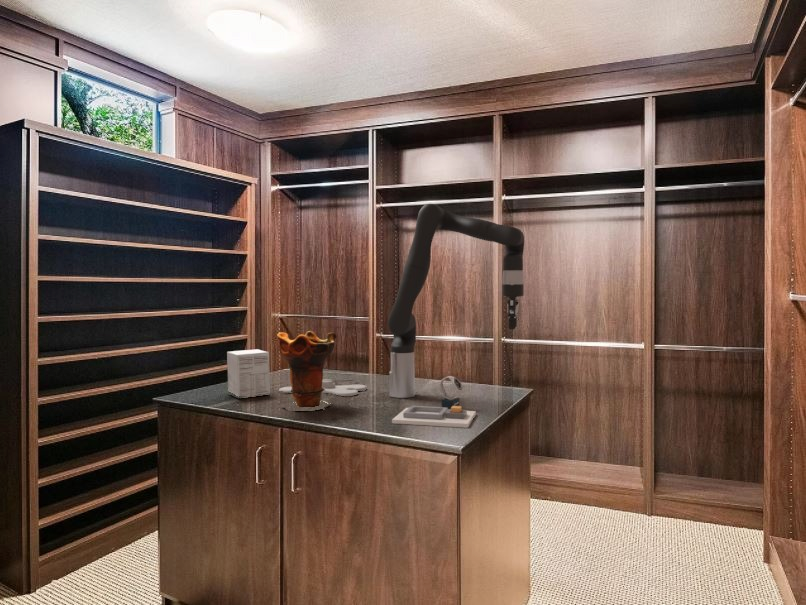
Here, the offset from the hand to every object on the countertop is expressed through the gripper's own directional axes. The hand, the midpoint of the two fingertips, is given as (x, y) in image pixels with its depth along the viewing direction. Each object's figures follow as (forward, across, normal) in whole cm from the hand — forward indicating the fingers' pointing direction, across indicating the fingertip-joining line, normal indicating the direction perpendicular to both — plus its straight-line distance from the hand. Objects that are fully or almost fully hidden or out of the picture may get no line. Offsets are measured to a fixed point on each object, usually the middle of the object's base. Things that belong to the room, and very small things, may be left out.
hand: (512, 328), depth 203 cm
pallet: (+27, +29, -23) cm, 46 cm away
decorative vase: (+28, +20, -72) cm, 80 cm away
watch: (+28, +12, -21) cm, 37 cm away
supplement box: (+28, +6, -104) cm, 108 cm away
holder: (+29, -8, -77) cm, 83 cm away
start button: (+25, +29, -16) cm, 42 cm away
